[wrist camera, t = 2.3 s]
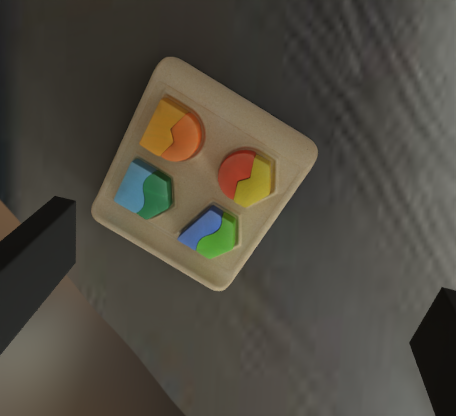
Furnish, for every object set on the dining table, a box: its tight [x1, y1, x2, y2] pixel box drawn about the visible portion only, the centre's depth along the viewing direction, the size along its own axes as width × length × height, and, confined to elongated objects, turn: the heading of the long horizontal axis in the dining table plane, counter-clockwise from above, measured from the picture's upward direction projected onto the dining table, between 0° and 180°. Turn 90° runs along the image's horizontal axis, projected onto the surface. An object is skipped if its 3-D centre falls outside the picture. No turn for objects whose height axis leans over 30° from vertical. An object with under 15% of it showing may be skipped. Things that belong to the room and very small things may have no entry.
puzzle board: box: [91, 57, 318, 291], centre depth 40 cm, size 18×19×3 cm
